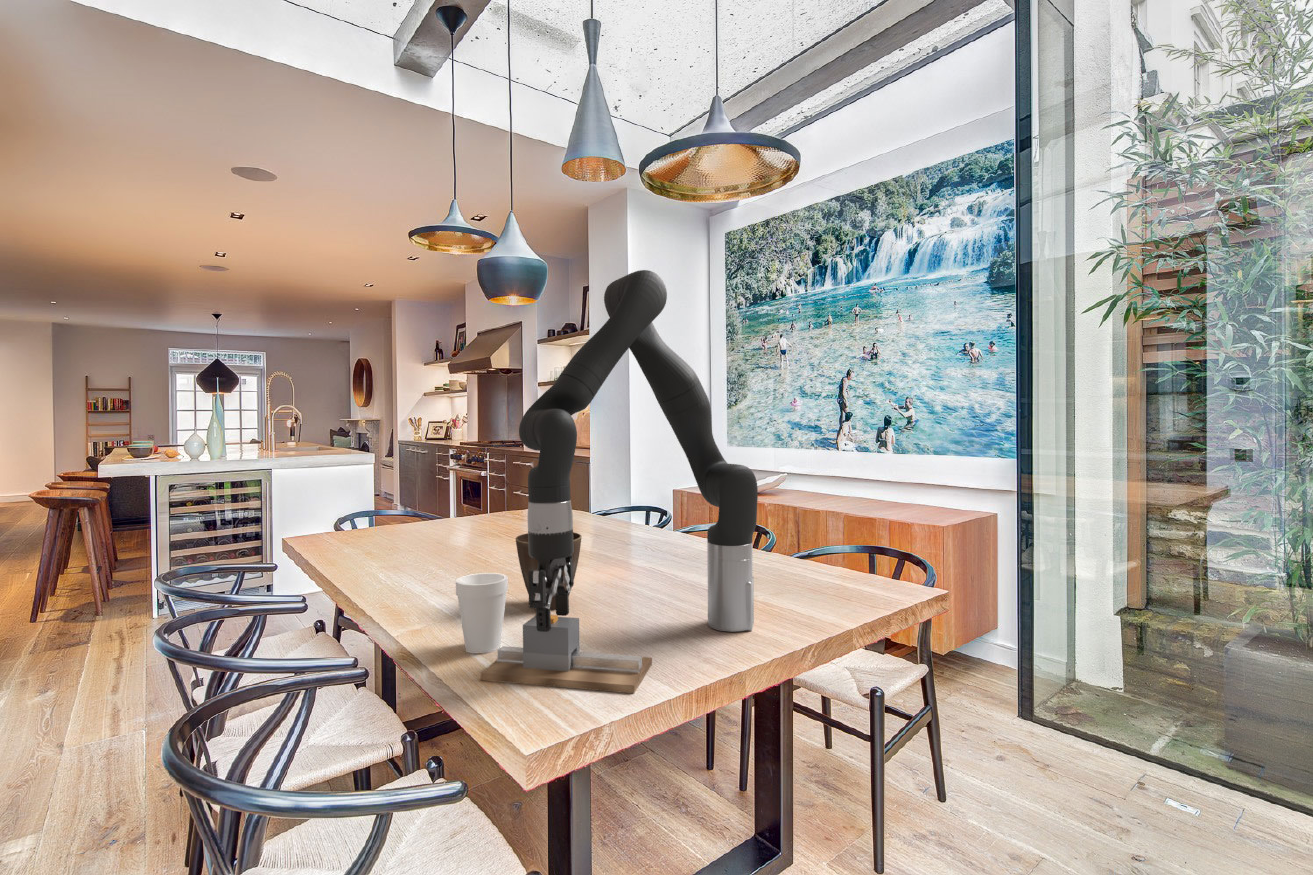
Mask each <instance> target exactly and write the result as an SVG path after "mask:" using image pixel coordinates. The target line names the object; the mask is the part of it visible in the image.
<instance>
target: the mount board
mask: <svg viewBox="0 0 1313 875" xmlns="http://www.w3.org/2000/svg"><path fill="white" fill-rule="evenodd" d="M497 660H498V659H496V660H495V661H494V662H492V663H491V664H490V665H488V666H487V667H486V668H485V669H484V670H482V671H481V672H480V681H489V682H490V681H491V682H500V683H501V682H502V683H510V684H511V683H512V684H521V685H522V684H524V685H537V686H544V687H545V686H546V687H547V686H548V687H559V688H560V687H561V688H568V689H569V688H570V689H583V690H591V691H592V690H594V691H603V692H604V691H605V692H615V693H617V692H618V693H629V694H635V693H636V692H637V690H638V688H639V687H640V685H641V683H642V681H643V680H644V678H645V677H646V675H647V673H649V670H650V669H651V666H652V665H653V658H652V657H647V656H646V657H645V656H642V666H643V668H642V669H641V671H640V672H639V674H633V673H621V672H608V671H596V670H583V669H570V671H557V670H545V669H533V668H523V665H520V664H508V663H497Z"/></svg>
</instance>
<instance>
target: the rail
mask: <svg viewBox="0 0 1313 875" xmlns="http://www.w3.org/2000/svg"><path fill="white" fill-rule="evenodd" d="M496 651H497V659H496V660H497V663H508V664H520V665H523V647H520V646H518V647H517V646H506V645H504V646H503V645H502V646H500V648H499V649H498V650H496ZM642 657H643V656H642V655H641V656H640V655H630V654H629V655H628V654H627V655H626V654H614V653H603V652H602V653H599V652H588V651H586V652H585V651H580V652H575V651H573V652H572V653H571V669H583V670H596V671H608V672H621V673H633V674H639V672H640V671H641V669H642V668H643V666H642Z"/></svg>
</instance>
